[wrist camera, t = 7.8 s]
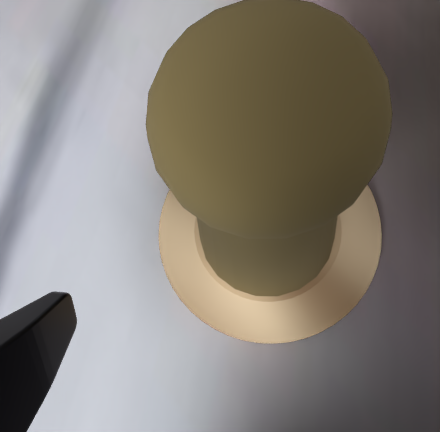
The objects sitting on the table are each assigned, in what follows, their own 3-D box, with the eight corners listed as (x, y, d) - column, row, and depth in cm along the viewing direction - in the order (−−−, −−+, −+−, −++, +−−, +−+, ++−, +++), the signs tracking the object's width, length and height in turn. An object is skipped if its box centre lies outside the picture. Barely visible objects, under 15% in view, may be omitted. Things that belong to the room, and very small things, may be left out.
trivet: (301, 394, 16) (302, 396, 15) (120, 258, 18) (115, 256, 18) (419, 200, 17) (424, 196, 17) (238, 101, 20) (238, 94, 20)
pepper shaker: (292, 146, 18) (326, -100, 8) (361, 257, 16) (525, 129, 6) (179, 202, 18) (59, 28, 8) (235, 321, 16) (180, 303, 6)
